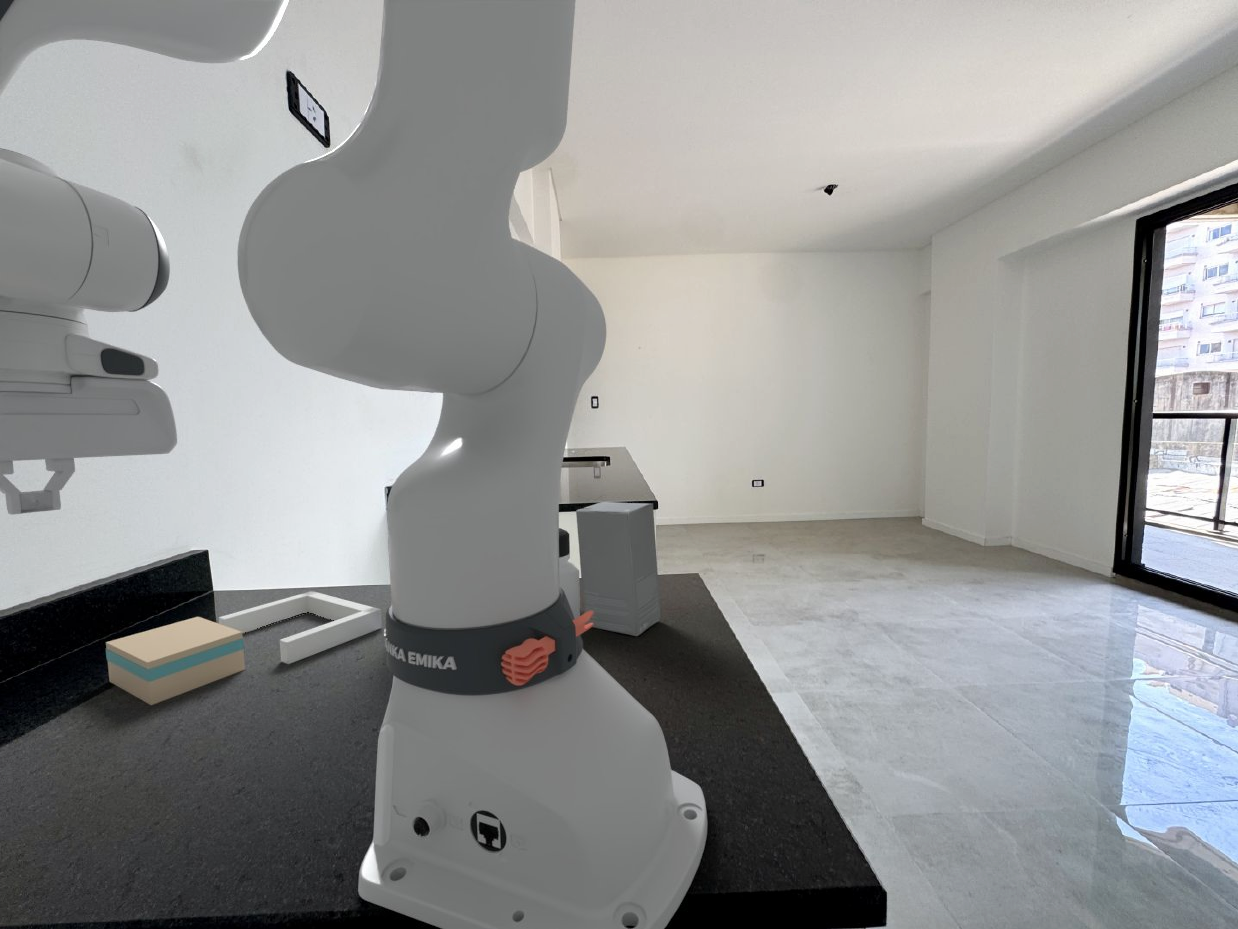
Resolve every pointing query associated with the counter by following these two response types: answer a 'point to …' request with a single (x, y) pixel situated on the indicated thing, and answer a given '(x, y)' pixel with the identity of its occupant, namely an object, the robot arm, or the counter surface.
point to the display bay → (345, 627)
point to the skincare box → (619, 566)
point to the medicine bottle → (568, 574)
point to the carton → (174, 658)
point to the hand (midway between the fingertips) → (34, 511)
